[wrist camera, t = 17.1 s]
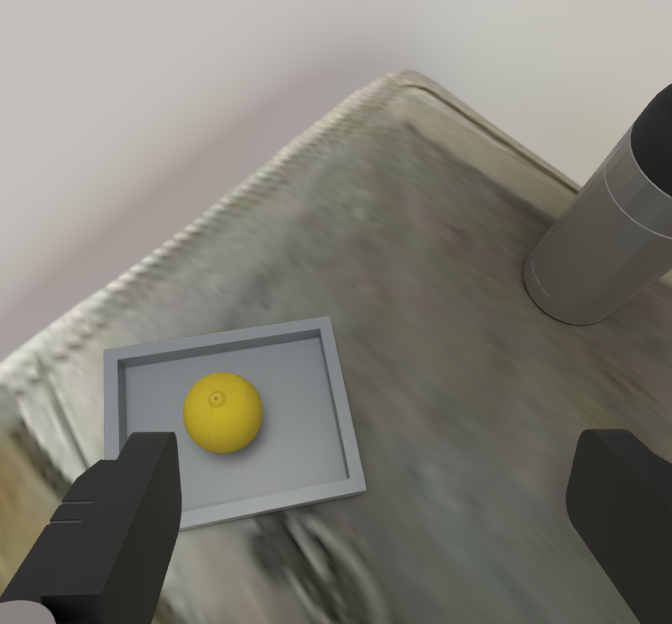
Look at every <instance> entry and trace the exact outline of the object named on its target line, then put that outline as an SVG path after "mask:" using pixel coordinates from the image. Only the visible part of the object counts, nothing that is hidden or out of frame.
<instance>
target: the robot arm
mask: <svg viewBox="0 0 672 624" xmlns="http://www.w3.org/2000/svg"><path fill="white" fill-rule="evenodd" d="M671 269H672V84H670V85H668V86H667V87H666V88H665V89H663V90H662V91H661V92H659V93H658V94H657V95H656V97H654V99H653V100H652V101H651V102H650V103H649V104H648V106H647V107H646V108H645V109H644V111H643V112H642V113H641V115H640V116H639V117H638V118H637V120H636V121H635V122H634V123H633V125H632V126H631V127H630V128H629V130H628V131H627V132H626V133H625V135H624V136H623V137H622V138H621V140H620V141H619V142H618V143H617V145H616V146H615V147H614V148H613V150H612V151H611V153H610V154H609V155H608V156H607V157H606V159H605V160H604V161H603V162H602V164H601V165H600V166H599V167H598V169H597V170H596V171H595V172H594V174H593V175H592V176H591V178H590V179H589V180H588V181H587V183H586V184H585V185H584V186H583V188H582V189H581V190H580V191H579V193H578V194H577V195H576V196H575V198H574V199H573V200H572V201H571V203H570V204H569V205H568V206H567V208H566V209H565V210H564V211H563V213H562V214H561V215H560V216H559V218H558V219H557V220H556V222H555V223H554V224H553V225H552V227H551V228H550V229H549V230H548V231H547V233H546V234H545V235H544V236H543V238H542V239H541V240H540V242H539V243H538V244H537V245H536V247H535V248H534V249H533V250H532V252H531V253H530V254H529V255H528V257H527V259H526V261H525V264H524V269H523V276H524V282H525V286H526V289H527V291H528V293H529V295H530V297H531V298H532V299H533V301H534V302H535V303H536V304H537V306H539V307H540V308H541V309H542V310H543V311H544V312H545V313H547V314H548V315H550V316H552V317H553V318H555V319H557V320H560V321H562V322H564V323H569V324H573V325H589V324H595V323H597V322H599V321H601V320H603V319H605V318H606V317H607V316H609V315H610V314H611V313H613V312H614V311H615V310H617V309H618V308H620V307H621V306H622V305H624V304H625V303H626V302H628V301H629V300H631V299H632V298H633V297H635V296H636V295H637V294H639V293H640V292H641V291H643V290H644V289H645V288H647V287H648V286H650V285H651V284H652V283H654V282H655V281H656V280H658V279H659V278H660V277H662V276H663V275H664V274H666V273H667V272H668V271H670V270H671ZM566 507H567V512H568V515H569V518H570V520H571V523H572V524H573V526H574V528H575V529H576V531H577V532H578V533H579V535H580V536H581V538H582V539H583V541H584V542H585V544H586V545H587V546H588V548H589V549H590V551H591V552H592V554H593V555H594V557H595V558H596V559H597V561H598V562H599V564H600V565H601V567H602V568H603V570H604V571H605V572H606V574H607V575H608V577H609V578H610V580H611V581H612V583H613V584H614V586H615V587H616V588H617V590H618V591H619V593H620V594H621V596H622V597H623V599H624V600H625V601H626V603H627V604H628V606H629V607H630V609H631V610H632V612H633V613H634V614H635V616H636V617H637V619H638V620H639V622H640V623H641V624H672V464H671V463H669V462H668V461H666V460H664V459H662V458H661V457H659V456H657V455H655V454H654V453H653V452H652V451H651V450H649V449H648V448H647V447H646V446H645V445H644V444H643V443H642V442H641V441H640V440H638V439H637V438H636V437H635V436H634V435H633V434H632V433H631V432H629V431H627V430H624V429H589V430H585V431H583V432H582V433H581V435H580V437H579V440H578V444H577V448H576V452H575V457H574V461H573V465H572V470H571V474H570V478H569V483H568V487H567V491H566ZM181 514H182V493H181V481H180V469H179V457H178V445H177V438H176V434H175V433H174V432H133V433H131V435H130V436H129V438H128V440H127V441H126V443H125V445H124V447H123V448H122V450H121V452H120V454H119V456H118V457H117V459H116V460H99V461H98V462H97V463H96V464H94V465H93V466H92V467H90V468H89V469H88V470H87V471H85V472H84V473H83V474H82V475H80V476H79V477H78V478H77V479H76V480H75V482H74V483H73V485H72V486H71V488H70V489H69V491H68V493H67V494H66V496H65V497H64V499H63V500H62V505H59V507H58V508H57V510H56V511H55V513H54V514H53V516H52V517H51V519H50V524H49V525H46V527H45V528H44V530H43V531H42V533H41V535H40V536H39V538H38V539H37V541H36V542H35V544H34V545H33V547H32V549H31V550H30V552H29V553H28V555H27V556H26V558H25V560H24V561H23V563H22V564H21V566H20V567H19V569H18V570H17V572H16V574H15V575H14V577H13V578H12V580H11V581H10V583H9V584H8V586H7V588H6V589H5V591H4V592H3V594H2V595H1V597H0V624H151V622H152V619H153V616H154V612H155V609H156V606H157V602H158V599H159V596H160V592H161V589H162V586H163V582H164V579H165V576H166V573H167V569H168V566H169V563H170V559H171V556H172V553H173V549H174V546H175V543H176V539H177V536H178V532H179V528H180V522H181Z"/></svg>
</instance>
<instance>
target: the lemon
mask: <svg viewBox="0 0 672 624" xmlns="http://www.w3.org/2000/svg"><path fill="white" fill-rule="evenodd" d="M262 419H263V404H262V401H261V398H260V395H259V393H258V392H257V390H256V389H255V387H254V386H253V385H252V384H251V383H250V382H249V381H248V380H246V379H245V378H243V377H241V376H239V375H237V374H233V373H229V372H217V373H213V374H209V375H207V376H205V377H203V378H202V379H200V380H199V381H198V382H197V383H195V384H194V385H193V387H192V388H191V390H190V391H189V392H188V394H187V397H186V399H185V402H184V407H183V420H184V425H185V428H186V430H187V432H188V435H189V436H190V437H191V439H192V440H193V441H194V442H195V443H196V444H197V445H199V446H200V447H201V448H203V449H204V450H207V451H210V452H213V453H220V454H226V453H232V452H235V451H238V450H240V449H242V448H244V447H245V446H246V445H248V444H249V443H250V442H251V441H252V440H253V439H254V437H255V436H256V435H257V433H258V431H259V429H260V427H261V424H262Z"/></svg>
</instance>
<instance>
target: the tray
mask: <svg viewBox="0 0 672 624" xmlns="http://www.w3.org/2000/svg"><path fill="white" fill-rule="evenodd" d="M217 372H229V373H233V374H237V375H239V376H241V377H243V378H245V379H246V380H248V381H249V382H250V383H251V384H252V385H253V386H254V387H255V389H256V390H257V392H258V393H259V395H260V398H261V401H262V404H263V419H262V424H261V427H260V429H259V431H258V433H257V435H256V436H255V437H254V439H253V440H252V441H251V442H250V443H249V444H248V445H246V446H245V447H244V448H242V449H240V450H238V451H235V452H232V453H226V454H220V453H213V452H210V451H207V450H204V449H203V448H201V447H200V446H199V445H197V444H196V443H195V442H194V441H193V440H192V439H191V437H190V436H189V435H188V432H187V430H186V428H185V425H184V420H183V407H184V402H185V399H186V397H187V394H188V392H189V391H190V390H191V388H192V387H193V385H194V384H195V383H197V382H198V381H199V380H200V379H202V378H203V377H205V376H207V375H209V374H213V373H217ZM133 432H174V433H175V434H176V438H177V445H178V457H179V469H180V481H181V493H182V514H181V522H180V528H179V532H180V531H185V530H190V529H195V528H199V527H204V526H209V525H214V524H219V523H224V522H228V521H233V520H238V519H243V518H248V517H253V516H257V515H262V514H267V513H272V512H277V511H282V510H286V509H291V508H296V507H301V506H306V505H311V504H315V503H320V502H325V501H330V500H335V499H340V498H344V497H349V496H354V495H359V494H362V493H363V492H365V491H366V490H367V488H366V484H365V479H364V474H363V470H362V465H361V460H360V456H359V451H358V446H357V442H356V437H355V432H354V427H353V423H352V418H351V413H350V409H349V404H348V399H347V395H346V390H345V385H344V380H343V376H342V371H341V366H340V362H339V357H338V352H337V348H336V343H335V338H334V333H333V329H332V324H331V319H330V316H324V317H317V318H311V319H304V320H297V321H291V322H284V323H278V324H271V325H264V326H258V327H251V328H245V329H238V330H231V331H225V332H218V333H211V334H205V335H198V336H192V337H185V338H178V339H172V340H165V341H159V342H152V343H145V344H139V345H132V346H125V347H119V348H112V349H106V350H104V452H105V460H116V459H117V457H118V456H119V454H120V452H121V450H122V448H123V447H124V445H125V443H126V441H127V440H128V438H129V436H130V435H131V433H133Z"/></svg>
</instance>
